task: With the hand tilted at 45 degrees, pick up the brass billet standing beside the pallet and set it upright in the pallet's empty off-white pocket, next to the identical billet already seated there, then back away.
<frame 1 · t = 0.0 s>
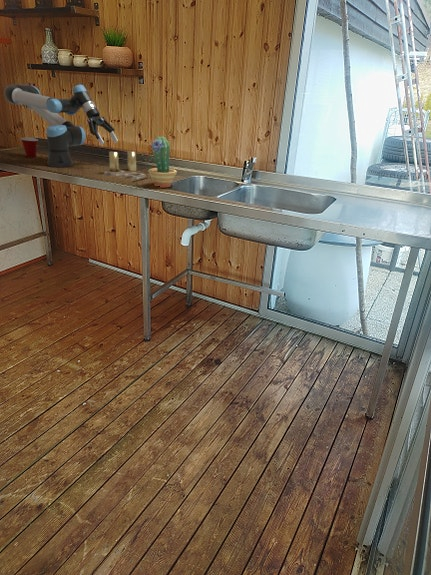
hand: (109, 142, 246), 15 cm above the counter, tool tilted 35°, fingers open, 13 cm apart
pallet: (124, 177, 230), on the counter
plastic cup: (32, 157, 273), on the counter
brass billet: (132, 172, 245), on the counter
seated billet: (114, 173, 232), point 1 cm above the counter, touching pallet
potted cactus: (162, 185, 217), on the counter
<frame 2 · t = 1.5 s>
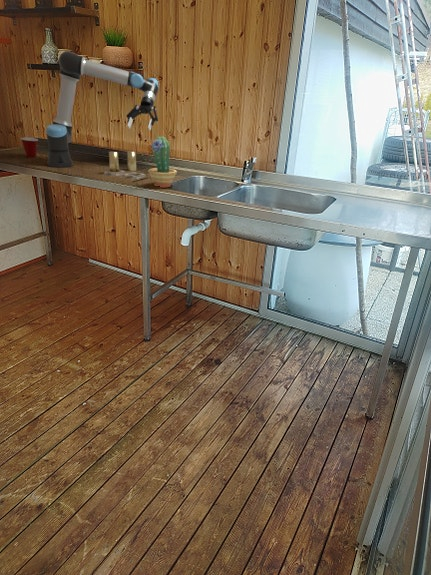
hand: (138, 128, 244), 25 cm above the counter, tool tilted 45°, fingers open, 13 cm apart
nothing on the counter moved.
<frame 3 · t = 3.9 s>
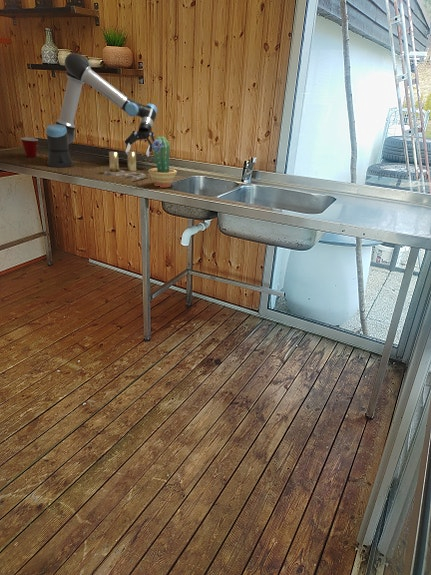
hand: (136, 154, 245), 10 cm above the counter, tool tilted 45°, fingers open, 13 cm apart
nothing on the counter moved.
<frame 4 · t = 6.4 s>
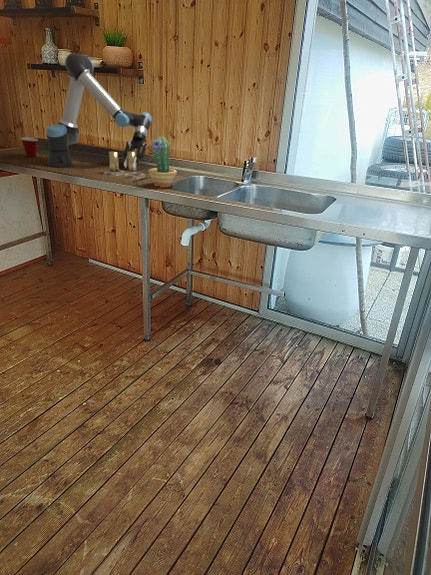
hand: (129, 166, 240), 4 cm above the counter, tool tilted 45°, fingers closed on brass billet, 5 cm apart
brass billet: (132, 172, 245), on the counter, touching gripper
everything else where it was.
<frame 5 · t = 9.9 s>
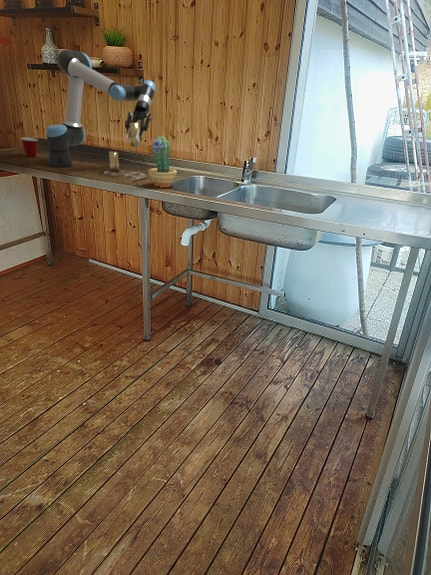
hand: (132, 139, 217), 21 cm above the counter, tool tilted 45°, fingers closed on brass billet, 5 cm apart
brass billet: (135, 146, 222), point 18 cm above the counter, touching gripper
everything else where it was.
when the fingers open (6 cm above the counter, at t = 13.4 s): brass billet stays where it is, resting on pallet.
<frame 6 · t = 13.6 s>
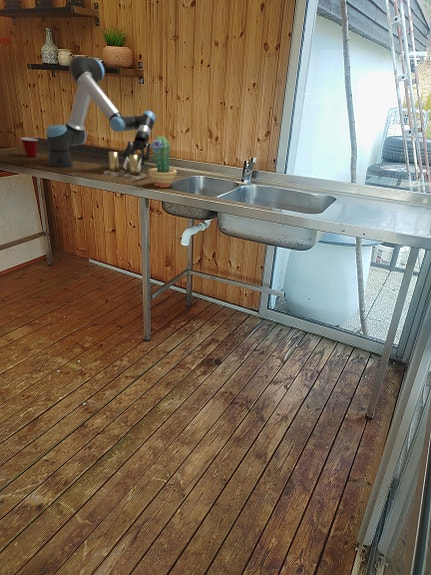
hand: (131, 168, 222), 6 cm above the counter, tool tilted 45°, fingers open, 8 cm apart
brass billet: (134, 176, 227), point 1 cm above the counter, touching pallet
everything else where it was.
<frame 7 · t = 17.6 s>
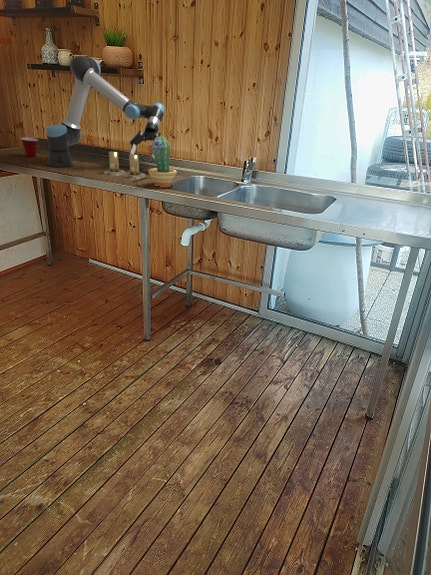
hand: (142, 156, 232), 11 cm above the counter, tool tilted 45°, fingers open, 13 cm apart
nothing on the counter moved.
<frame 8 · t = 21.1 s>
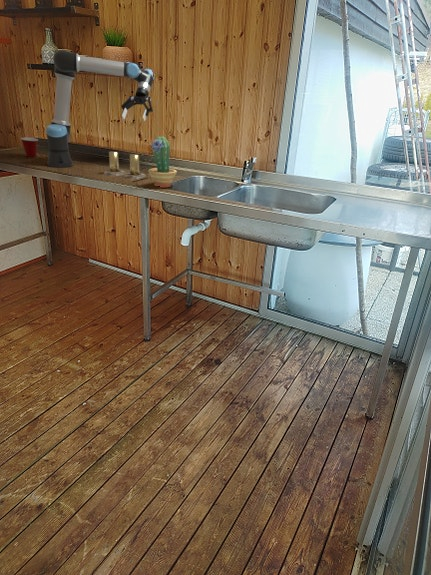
hand: (133, 118, 243), 30 cm above the counter, tool tilted 45°, fingers open, 13 cm apart
nothing on the counter moved.
at the end: brass billet 0.1 cm from the target spot on the pallet, point 1.2 cm above the pallet's base; brass billet tilted 1°; the gripper is holding nothing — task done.
